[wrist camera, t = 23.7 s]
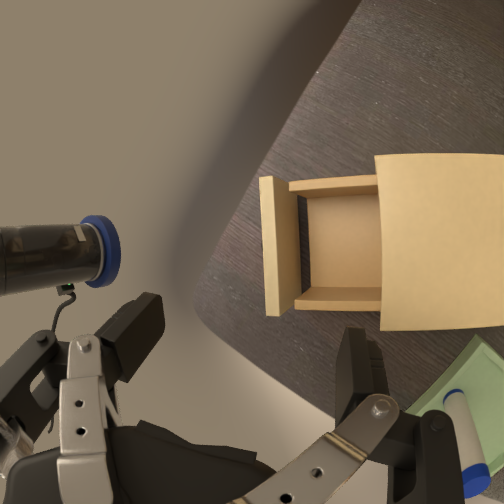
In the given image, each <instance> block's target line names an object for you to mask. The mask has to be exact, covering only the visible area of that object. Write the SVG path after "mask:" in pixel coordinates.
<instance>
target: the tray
mask: <svg viewBox="0 0 504 504" xmlns="http://www.w3.org/2000/svg"><path fill="white" fill-rule="evenodd" d="M453 389H461V390H462V391H463V392H464V395H465V398H466V401H467V403H468V406H469V409H470V412H471V415H472V418H473V421H474V424H475V427H476V430H477V433H478V436H479V440H480V443H481V447H482V450H483V454H484V458H485V461H486V464H487V465H488V468H489V473H490V477H492V476H493V475H494V474H495V473H496V472H498V471H499V470H500V469H501V468H502V467H504V358H503V357H502V356H501V355H500V354H499V353H498V352H497V351H495V350H494V349H493V348H492V347H491V346H490V345H489V344H488V343H487V342H486V341H484V340H483V339H482V338H481V337H480V336H479V335H478V334H477V333H476V334H475V335H474V337H473V338H472V339H471V340H470V342H469V343H468V344H467V346H466V347H465V348H464V349H463V351H462V352H461V353H460V354H459V355H458V357H457V358H456V359H455V360H454V361H453V363H452V364H451V365H450V366H449V367H448V368H447V369H446V371H445V372H444V373H443V374H442V375H441V376H440V377H439V378H438V379H437V380H436V381H435V382H434V384H433V385H432V386H431V387H430V388H429V389H428V390H427V391H426V392H425V393H424V394H423V395H422V396H421V397H420V398H419V399H418V400H417V401H416V402H415V403H414V404H412V405H411V406H410V407H409V408H408V409H407V410H406V411H405V412H406V413H409V414H413V415H416V416H420V417H422V415H423V414H424V413H425V412H427V411H429V410H433V409H436V410H441V411H443V412H445V408H444V405H443V399H444V397H445V395H446V394H447V393H448V392H449V391H451V390H453Z"/></svg>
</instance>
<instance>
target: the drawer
mask: <svg viewBox="0 0 504 504" xmlns="http://www.w3.org/2000/svg"><path fill="white" fill-rule="evenodd" d="M259 186H260V203H261V222H262V251H263V260H264V280H265V301H266V316H281V315H282V314H283V313H284V312H286V311H287V310H288V309H289V308H290V307H292V306H293V305H294V304H295V309H296V310H325V311H381V293H382V250H381V224H380V208H379V195H378V184H377V175H360V176H345V177H332V178H321V179H310V180H300V181H290V182H289V183H287V182H285V181H283V180H281V179H279V178H276V177H274V176H266V177H259ZM297 195H300V196H302V197H305V198H307V209H308V227H309V247H310V275H311V287H310V288H309V289H308V290H307V291H306V292H304V293H303V294H302V290H301V260H300V237H299V219H298V202H297Z"/></svg>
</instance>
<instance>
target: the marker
mask: <svg viewBox="0 0 504 504" xmlns="http://www.w3.org/2000/svg"><path fill="white" fill-rule="evenodd" d="M443 405H444V408H445V413H447V414H448V415H449V416H450V417H451V419H452V421H453V424H454V429H455V434H456V439H457V444H458V450H459V456H460V463H461V470H462V478H463V488H464V499H465V498H471V497H473V496H476V495H478V494H480V493H481V492H483V491H484V490H485V489H486V488H487V487H488V486H489V484H490V482H491V477H490V473H489V468H488V465H487V464H486V461H485V458H484V454H483V450H482V447H481V443H480V440H479V436H478V433H477V430H476V427H475V424H474V421H473V418H472V415H471V412H470V409H469V406H468V403H467V401H466V398H465V395H464V392H463V391H462V390H461V389H453V390H451V391H449V392H448V393H447V394H446V395H445V397H444V399H443Z"/></svg>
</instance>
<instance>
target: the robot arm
mask: <svg viewBox="0 0 504 504" xmlns="http://www.w3.org/2000/svg"><path fill="white" fill-rule="evenodd" d="M105 264H106V246H105V241H104V238H103V235H102V233H101V231H100V229H99V228H98V227H97V226H96V225H95V224H92V223H84V224H56V225H29V226H28V225H27V226H6V227H0V297H1V296H5V295H11V294H17V293H22V292H27V291H33V290H39V289H44V288H50V287H56V288H57V291H58V294H59V296H60V295H65V294H67V295H70V296H72V298H71V299H69V300H67V301H65V302H64V303H62V304H61V305H60V306H59V307H58V309H57V311H56V314H55V317H54V321H53V325H52V330H51V331H50V330H41V331H38V332H36V333H35V334H33V335H32V336H31V337H30V338H29V339H28V340H27V341H26V342H25V343H24V344H23V345H22V346H21V347H20V348H19V349H18V350H17V351H16V352H15V353H14V354H13V355H12V356H11V357H10V358H9V359H8V360H7V361H6V362H5V363H4V364H3V365H2V366H1V367H0V476H2V477H3V478H5V479H6V480H7V483H6V492H5V498H4V502H3V504H324V503H325V502H326V501H328V500H329V499H330V498H331V497H332V496H333V495H334V494H335V493H336V492H337V491H338V490H339V489H340V488H341V487H342V486H343V485H344V484H345V483H346V482H347V481H348V479H349V478H350V477H351V476H352V475H353V474H354V473H355V472H356V471H357V470H358V468H360V466H361V465H362V464H363V463H364V462H365V461H366V460H367V459H368V460H371V461H374V462H378V463H381V464H385V465H388V491H387V504H465V501H464V488H463V478H462V470H461V463H460V456H459V450H458V444H457V439H456V434H455V429H454V424H453V421H452V419H451V417H450V416H449V415H448V414H447V413H445V412H443V411H441V410H436V409H433V410H429V411H427V412H425V413H424V414H423V415H422V417H420V416H416V415H413V414H409V413H406V412H403V411H401V410H400V408H399V405H398V404H397V402H396V401H395V400H394V399H393V398H391V397H390V394H389V389H388V383H387V377H386V372H385V368H384V362H383V357H382V352H381V349H380V348H379V346H378V345H377V344H376V342H375V341H368V340H367V338H366V333H365V328H360V327H351V326H347V327H346V329H345V332H344V335H343V338H342V342H341V345H340V348H339V352H338V355H337V360H336V414H335V430H334V431H332V432H331V433H329V432H327V433H325V434H324V435H322V436H321V437H320V438H319V439H318V440H317V441H316V442H314V443H313V444H312V445H311V446H310V447H308V448H307V449H306V450H305V451H304V452H303V453H301V454H300V455H299V456H298V457H296V458H295V459H294V460H293V461H291V462H290V463H289V464H288V465H287V466H285V467H284V468H282V469H281V470H280V471H278V472H276V471H275V470H273V469H272V468H271V467H269V466H268V465H266V464H264V463H262V462H260V461H258V460H256V455H257V452H252V451H248V450H243V449H238V448H233V447H229V446H212V445H195V444H191V443H189V442H188V441H186V440H184V439H182V438H180V437H179V436H177V435H175V434H174V433H172V432H170V431H169V430H167V429H165V428H162V427H159V426H156V425H153V424H151V423H148V422H146V421H143V420H140V421H139V423H138V424H137V426H123V423H122V419H121V414H120V408H119V403H118V396H117V389H116V385H115V383H116V382H117V381H118V380H120V381H123V382H126V383H128V382H129V381H130V379H131V378H132V376H133V375H134V374H135V372H136V371H137V369H138V368H139V367H140V365H141V364H142V363H143V361H144V360H145V359H146V357H147V356H148V354H149V353H150V352H151V350H152V349H153V348H154V346H155V345H156V343H157V342H158V341H159V339H160V338H161V337H162V335H163V333H164V330H165V318H164V311H163V303H162V297H161V296H160V295H157V294H153V293H148V292H143V293H142V294H141V295H140V296H139V297H138V298H137V299H136V300H132V301H130V302H128V303H126V304H124V305H123V306H122V307H121V308H120V309H119V310H118V311H117V313H115V314H114V315H113V316H112V318H110V319H109V320H108V321H107V322H106V323H105V324H104V325H103V326H102V327H101V328H100V329H99V330H98V331H97V332H96V333H95V334H94V335H90V334H86V335H81V336H78V337H76V338H75V339H73V340H72V341H71V342H61V341H58V340H57V338H56V335H55V328H56V324H57V320H58V317H59V314H60V312H61V310H62V309H63V308H64V307H65V306H67V305H70V304H71V303H73V302H74V301H75V300H76V295H75V293H74V292H73V290H74V289H75V288H74V285H73V283H79V282H85V281H94V280H97V279H99V278H100V277H101V275H102V274H103V271H104V268H105ZM41 370H42V372H43V374H44V375H45V378H44V379H43V380H42V381H41V382H40V384H39V385H38V386H37V387H36V388H35V390H34V391H33V392H32V393H31V392H30V384H31V382H32V381H33V379H34V378H35V377H36V376H37V375H38V374H39V373H40V371H41ZM58 409H59V438H60V446H59V447H56V448H53V449H50V450H47V451H43V452H40V453H36V454H34V453H33V449H34V445H33V444H34V443H35V441H36V440H37V438H38V437H39V436H40V434H41V433H42V431H43V430H44V428H45V427H46V426H47V424H48V423H49V421H50V420H51V427H50V429H49V431H48V433H50V432H51V431H52V428H53V423H54V414H55V413H56V411H57V410H58Z"/></svg>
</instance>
